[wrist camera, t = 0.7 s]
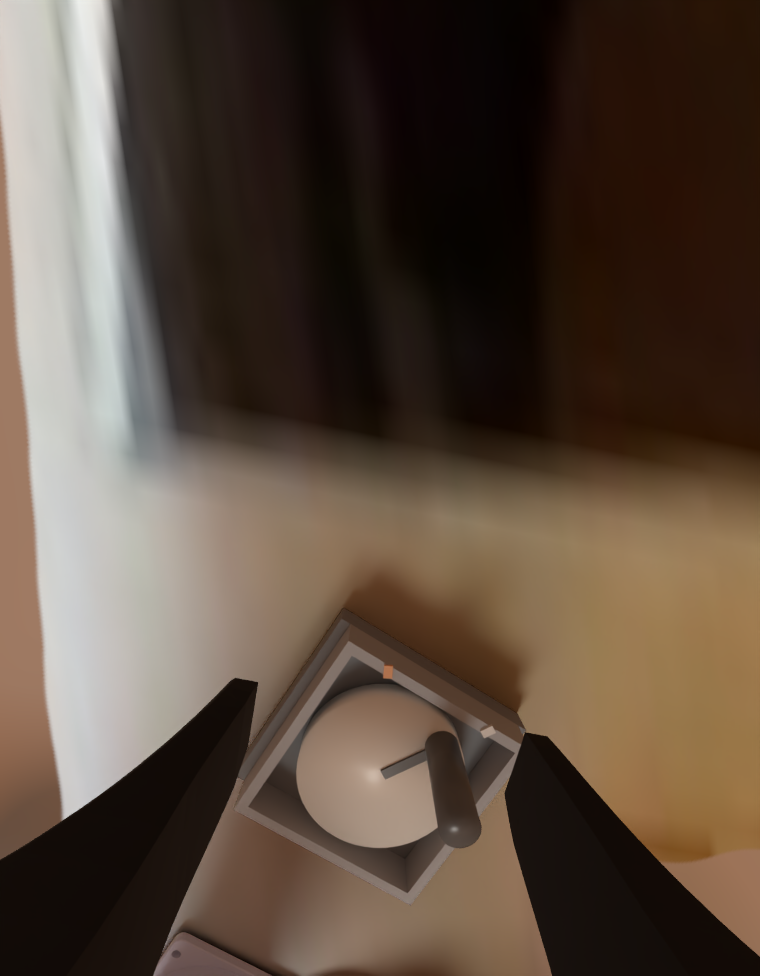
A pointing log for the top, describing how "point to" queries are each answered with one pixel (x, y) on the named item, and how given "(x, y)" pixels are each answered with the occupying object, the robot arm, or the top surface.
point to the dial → (386, 770)
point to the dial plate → (338, 668)
